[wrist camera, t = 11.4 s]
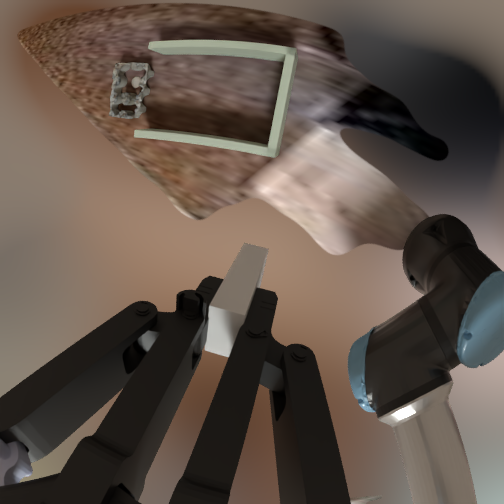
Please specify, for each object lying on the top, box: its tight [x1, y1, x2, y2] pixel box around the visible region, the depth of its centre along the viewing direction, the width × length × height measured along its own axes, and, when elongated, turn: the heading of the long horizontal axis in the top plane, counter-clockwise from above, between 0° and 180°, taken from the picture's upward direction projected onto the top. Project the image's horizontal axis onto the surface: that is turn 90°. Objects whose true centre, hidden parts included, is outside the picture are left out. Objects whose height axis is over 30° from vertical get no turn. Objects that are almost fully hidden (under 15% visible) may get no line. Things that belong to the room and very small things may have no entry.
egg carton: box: [109, 62, 154, 119], centre depth 40 cm, size 11×8×4 cm
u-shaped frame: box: [134, 40, 298, 158], centre depth 37 cm, size 23×16×6 cm
